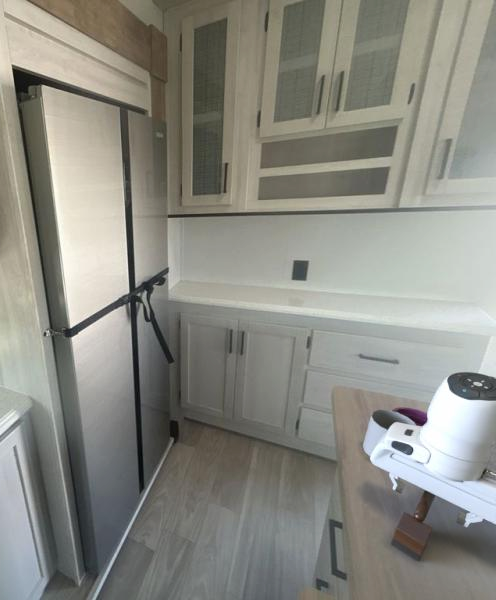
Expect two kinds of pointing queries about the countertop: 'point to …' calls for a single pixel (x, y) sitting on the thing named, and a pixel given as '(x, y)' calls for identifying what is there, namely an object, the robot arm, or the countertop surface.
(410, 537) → the brush
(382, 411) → the cup
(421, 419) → the bowl
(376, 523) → the countertop surface
